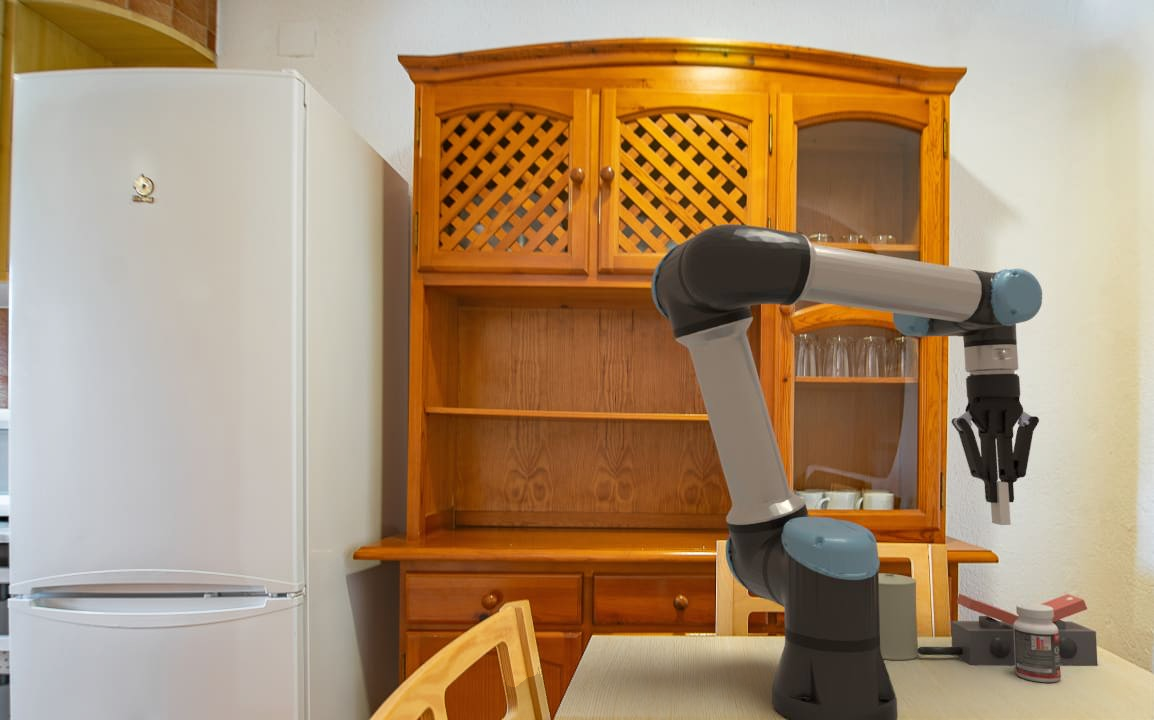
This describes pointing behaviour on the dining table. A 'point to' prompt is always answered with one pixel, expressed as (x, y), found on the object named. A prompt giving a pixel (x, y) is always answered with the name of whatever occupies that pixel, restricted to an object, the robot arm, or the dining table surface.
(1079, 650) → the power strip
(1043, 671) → the pill bottle
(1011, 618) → the rocker
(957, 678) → the dining table surface
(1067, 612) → the rocker
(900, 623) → the can
